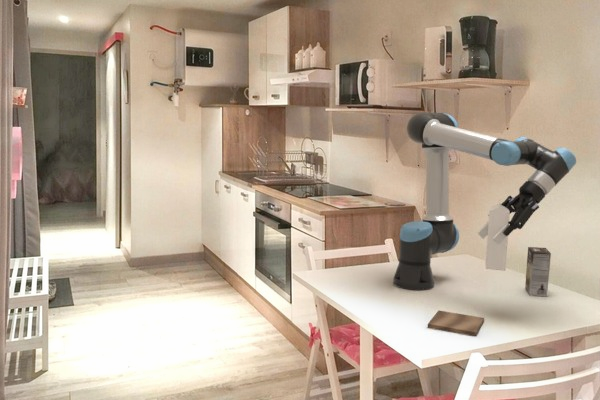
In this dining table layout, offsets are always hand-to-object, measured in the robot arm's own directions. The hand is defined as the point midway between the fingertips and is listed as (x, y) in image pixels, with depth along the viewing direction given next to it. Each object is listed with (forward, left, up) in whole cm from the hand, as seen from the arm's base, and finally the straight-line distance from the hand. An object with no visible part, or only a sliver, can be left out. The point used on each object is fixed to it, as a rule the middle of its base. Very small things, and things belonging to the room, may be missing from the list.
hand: (487, 238), depth 177 cm
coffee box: (+14, +33, -25) cm, 43 cm away
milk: (+3, +2, -10) cm, 10 cm away
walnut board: (-5, -16, -24) cm, 30 cm away
